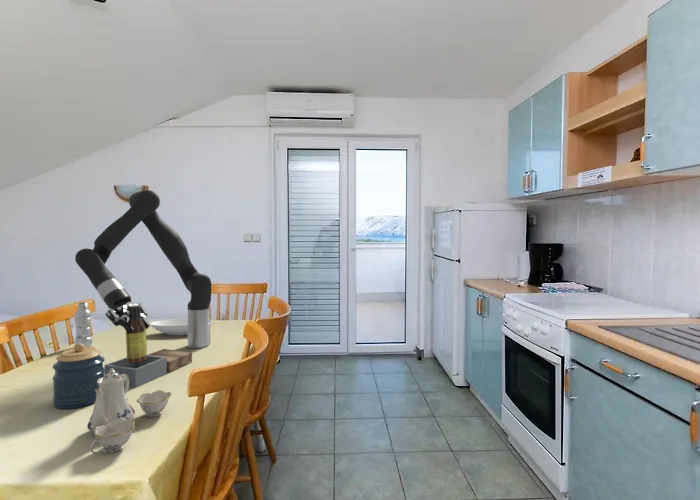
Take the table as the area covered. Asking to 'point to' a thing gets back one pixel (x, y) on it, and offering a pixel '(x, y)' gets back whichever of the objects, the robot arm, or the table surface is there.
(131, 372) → the tub
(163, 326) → the bowl
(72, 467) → the table surface
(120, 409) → the chinaware
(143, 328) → the sauce bottle
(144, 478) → the table surface
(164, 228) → the robot arm
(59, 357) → the canister
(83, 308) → the plastic bottle
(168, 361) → the block
